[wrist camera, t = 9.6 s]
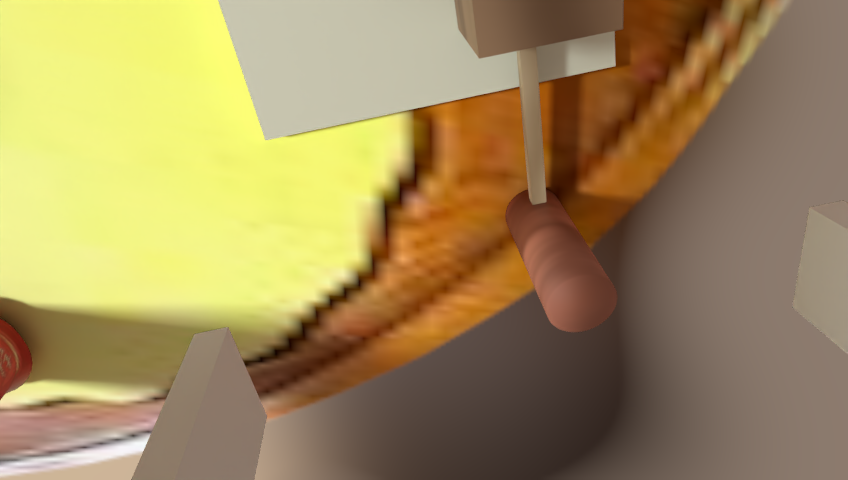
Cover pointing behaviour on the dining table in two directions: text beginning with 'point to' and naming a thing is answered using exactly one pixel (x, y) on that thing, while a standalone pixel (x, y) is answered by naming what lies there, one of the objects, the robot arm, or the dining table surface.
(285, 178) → the dining table surface
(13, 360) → the liquor
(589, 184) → the dining table surface
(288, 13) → the white compartment tray
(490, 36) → the tethered block
